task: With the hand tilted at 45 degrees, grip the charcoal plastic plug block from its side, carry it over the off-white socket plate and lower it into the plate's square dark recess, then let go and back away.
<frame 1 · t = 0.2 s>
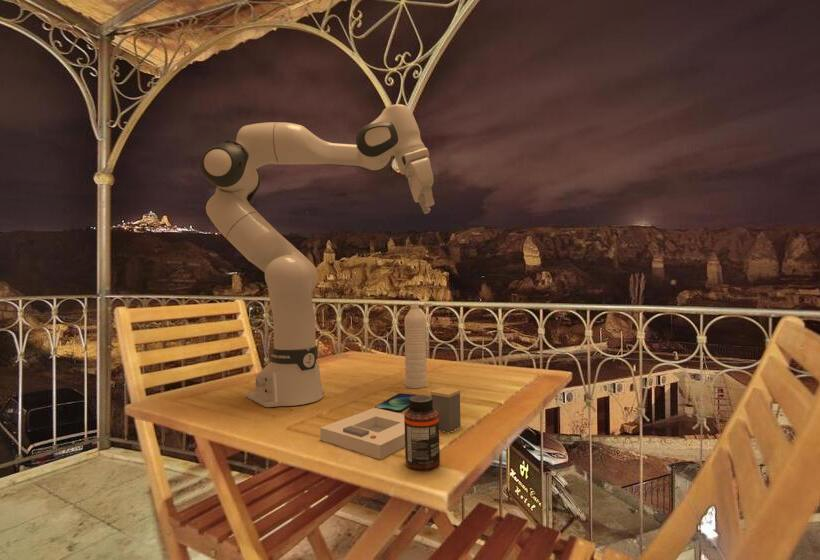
hand: (429, 209, 115), 51 cm above the table, tool tilted 20°, fingers open, 8 cm apart
water bottle: (419, 386, 125), on the table
supplement bottle: (422, 464, 71), on the table
plug: (446, 428, 88), on the table
smartphone: (399, 405, 107), on the table
socket plate: (377, 436, 84), on the table
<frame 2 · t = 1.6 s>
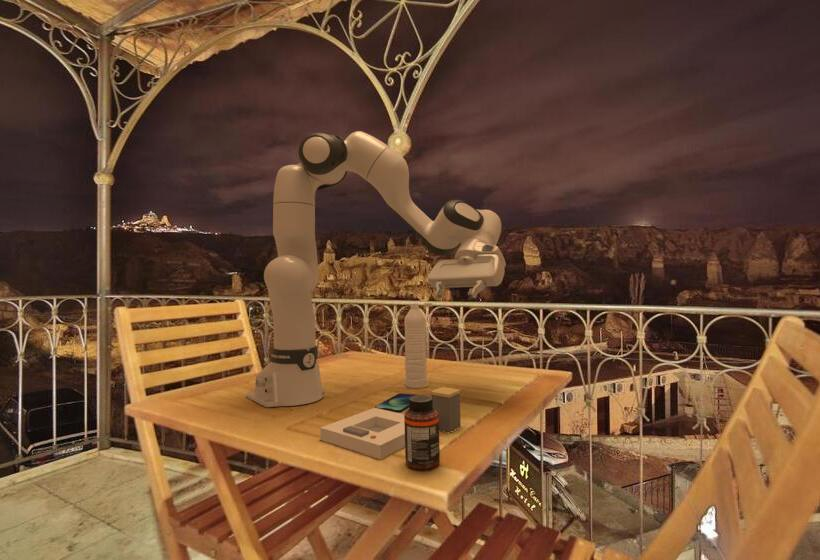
hand: (454, 296, 101), 28 cm above the table, tool tilted 45°, fingers open, 8 cm apart
nothing on the table moved.
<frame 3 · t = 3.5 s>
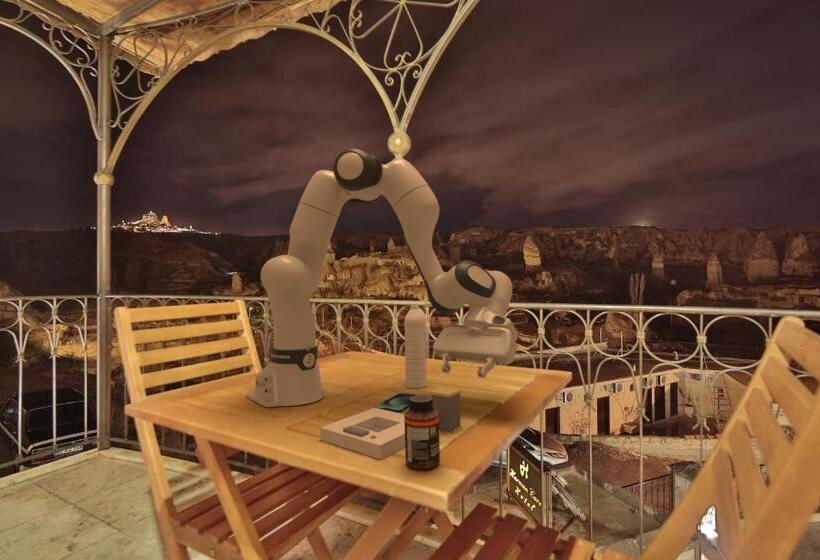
hand: (462, 373, 94), 10 cm above the table, tool tilted 45°, fingers open, 8 cm apart
nothing on the table moved.
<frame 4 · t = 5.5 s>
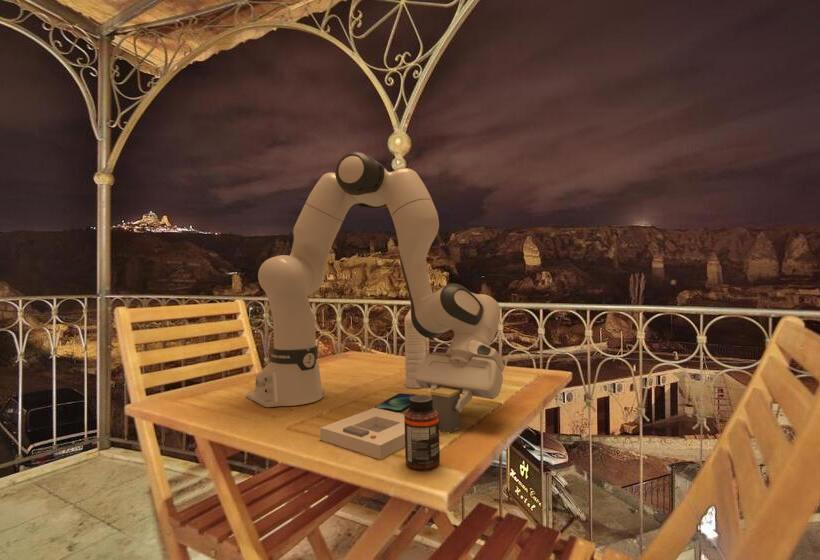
hand: (444, 408, 88), 4 cm above the table, tool tilted 45°, fingers closed on plug, 4 cm apart
plug: (446, 428, 88), on the table, touching gripper
everything else where it was.
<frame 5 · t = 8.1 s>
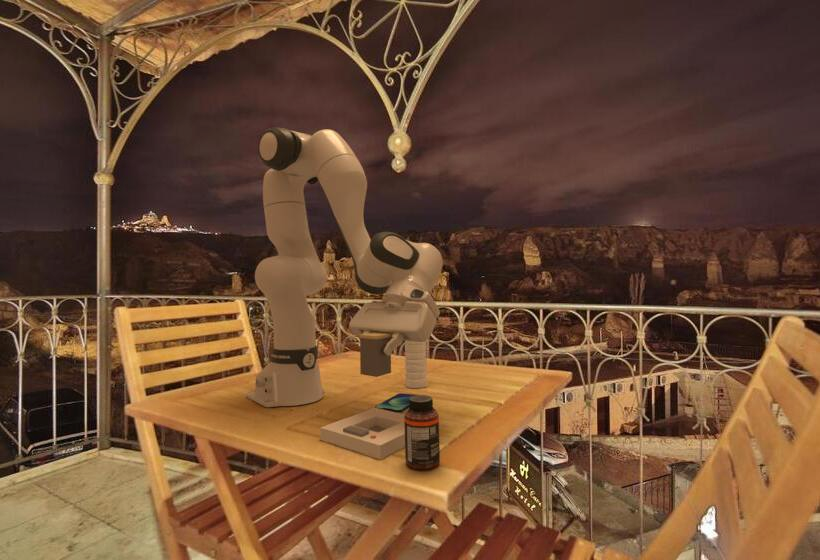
hand: (373, 352, 84), 17 cm above the table, tool tilted 45°, fingers closed on plug, 4 cm apart
plug: (375, 373, 84), point 13 cm above the table, touching gripper
everything else where it was.
when the fingers open (6 cm above the table, at t = 10.6 s): plug drops 1 cm, resting on socket plate.
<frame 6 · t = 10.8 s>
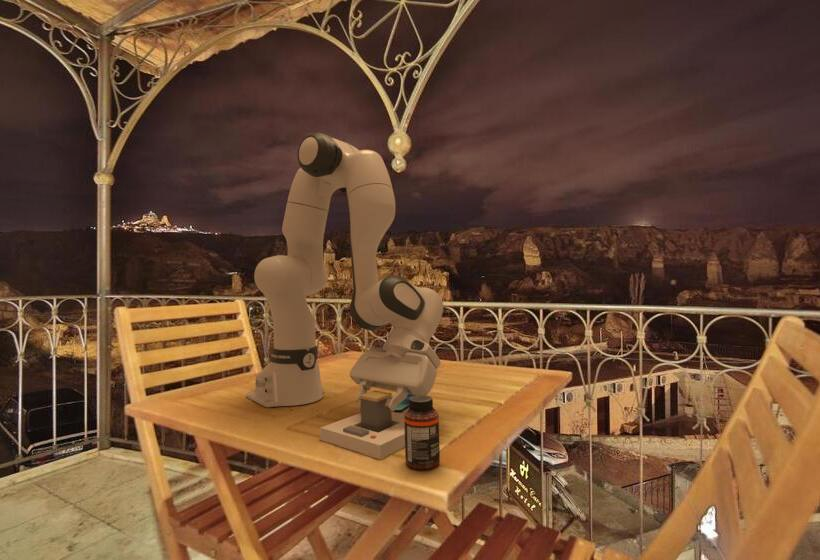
hand: (374, 405, 84), 6 cm above the table, tool tilted 45°, fingers open, 6 cm apart
plug: (376, 433, 84), resting on socket plate
everything else where it was.
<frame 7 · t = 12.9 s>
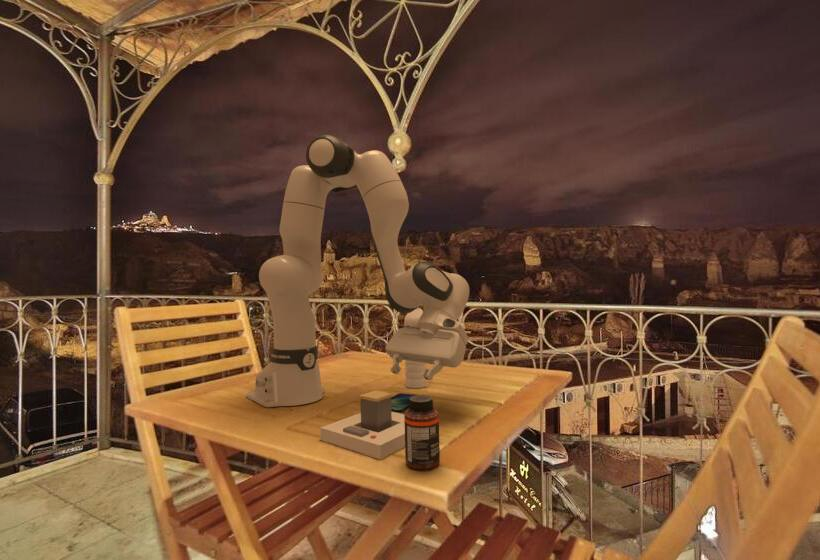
hand: (409, 375, 94), 10 cm above the table, tool tilted 45°, fingers open, 8 cm apart
nothing on the table moved.
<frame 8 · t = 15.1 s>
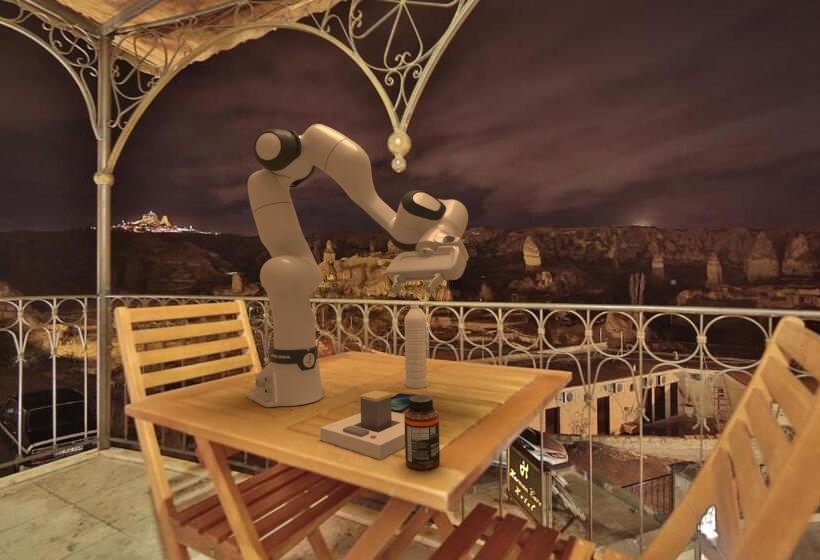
hand: (411, 290, 94), 29 cm above the table, tool tilted 45°, fingers open, 8 cm apart
nothing on the table moved.
at the end: plug 0.1 cm off-centre on the socket plate, point 0.5 cm above the socket plate's base; plug tilted 0°; the gripper is holding nothing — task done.
